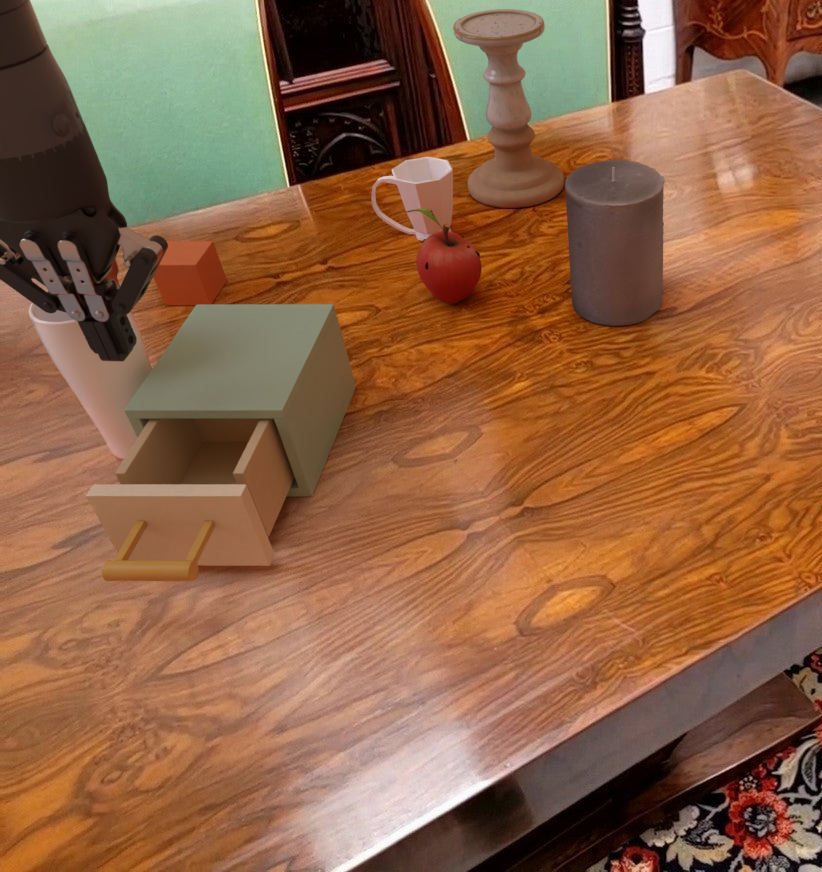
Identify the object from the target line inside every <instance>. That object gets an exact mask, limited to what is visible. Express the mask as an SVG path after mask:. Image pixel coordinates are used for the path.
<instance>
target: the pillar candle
mask: <svg viewBox="0 0 822 872" xmlns="http://www.w3.org/2000/svg"><path fill="white" fill-rule="evenodd" d="M665 182H666V179H665V177H664V176H663V175H661V174H660V173H659V171H657V170H656V169H655V168H653V167H651V166H649V165H647V164H644V163H641V162H639V161H632V160H625V159H624V160H623V159H622V160H621V159H612V160H599V161H595V162H591V163H587V164H584V165H582V166H580V167H578V168H576V169H574V170H573V171H571V172H570V173H569V175H567V177H566V179H565V180H564V190H565V206H566V222H567V225H566V226H567V236H568V238H567V239H568V240H567V241H568V259H569V276H570V289H571V291H570V292H571V303H572V307H573V309H574V311H575V312H576V314H578V315H579V316H580V317H581V318H583V319H584V320H586V321H589V322H591V323H593V324H597V325H601V326H611V327H621V326H631V325H635V324H638V323H642V322H645V321H646V320H648V319H649V318H650V317H651V316H653V314H655V313H656V312H657V311H658V310H659V309H660V308H661V306H662V305H663V300H664V299H663V295H664V225H665V223H664V197H665V196H664V195H665V194H664V189H665V186H664V185H665Z"/></svg>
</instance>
